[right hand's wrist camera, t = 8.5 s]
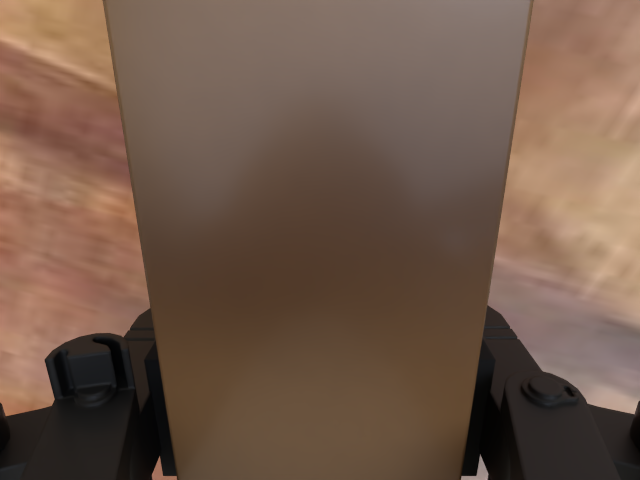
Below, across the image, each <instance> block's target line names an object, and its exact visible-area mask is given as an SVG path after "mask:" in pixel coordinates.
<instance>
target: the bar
mask: <svg viewBox="0 0 640 480" xmlns="http://www.w3.org/2000/svg"><path fill="white" fill-rule="evenodd" d="M533 1H534V0H103V4H104V11H105V17H106V24H107V30H108V37H109V43H110V49H111V56H112V62H113V69H114V75H115V82H116V88H117V94H118V101H119V107H120V114H121V120H122V127H123V133H124V140H125V146H126V152H127V159H128V165H129V172H130V178H131V185H132V191H133V197H134V204H135V210H136V217H137V223H138V230H139V236H140V242H141V249H142V255H143V262H144V268H145V275H146V281H147V288H148V294H149V300H150V307H151V313H152V320H153V326H154V333H155V339H156V345H157V352H158V358H159V365H160V371H161V378H162V384H163V390H164V397H165V403H166V410H167V416H168V423H169V429H170V436H171V442H172V448H173V455H174V461H175V468H176V474H177V480H461V475H462V468H463V462H464V455H465V448H466V442H467V435H468V429H469V422H470V416H471V409H472V402H473V396H474V389H475V383H476V376H477V369H478V363H479V356H480V350H481V343H482V337H483V330H484V323H485V317H486V310H487V304H488V297H489V290H490V284H491V277H492V271H493V264H494V258H495V251H496V244H497V238H498V231H499V225H500V218H501V211H502V205H503V198H504V192H505V185H506V179H507V172H508V165H509V159H510V152H511V146H512V139H513V132H514V126H515V119H516V113H517V106H518V100H519V93H520V86H521V80H522V73H523V67H524V60H525V53H526V47H527V40H528V34H529V27H530V21H531V14H532V7H533Z"/></svg>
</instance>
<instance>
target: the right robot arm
mask: <svg viewBox="0 0 640 480" xmlns="http://www.w3.org/2000/svg"><path fill="white" fill-rule="evenodd" d="M45 363H46V367H47V371H48V375H49V379H50V382H51V386H52V390H53V394H54V398H55V400H54V403H53V405H52V406H50V407H46V408H43V409H38V410H34V411H29V412H24V413H20V414H15V415H10V416H5V413H4V410H3V406H2V404H1V403H0V480H152V473H153V471H154V468H155V466H156V463H157V461H158V458H159V456H160V459H161V465H162V471H163V476H177V474H176V468H175V461H174V455H173V448H172V442H171V436H170V429H169V423H168V416H167V410H166V403H165V397H164V390H163V384H162V378H161V371H160V365H159V358H158V352H157V345H156V339H155V333H154V326H153V320H152V313H151V308H150V309H148V310H147V311H145V312H144V313H142V314H141V315H139V317H138V318H137V319H136V321H135V322H134V323H133V325H132V326H131V328H130V331H128V332H127V333H126V335H125V336H124V337H122V336H120V335H115V334H111V333H95V334H91V335H86V336H81V337H78V338H76V339H73V340H71V341H68V342H65V343H64V344H62V345H61V346H59V347H57V348H56V349H54V350H53V351H52V352H51V353H50V354H49V355H48V356H47V358H46V359H45ZM480 454H481V457H482V459H483V462H484V464H485V466H486V469H487V471H488V474H489V475H488V480H640V401H639V402H638V405H637V408H636V411H635V415H634V414H630V413H625V412H620V411H616V410H611V409H606V408H601V407H597V406H594V405H590V404H587V402H586V400H585V398H584V397H583V395H582V394H581V393H580V391H579V390H578V389H577V388H576V387H574V386H573V385H572V384H570V383H569V382H568V381H566V380H564V379H562V378H560V377H558V376H555V375H553V374H550V373H546V372H542V370H541V369H540V367H539V366H538V365H537V363H536V362H535V360H534V359H533V358H532V356H531V355H530V354H529V352H528V351H527V349H526V348H525V347H524V345H523V344H522V343H521V341H520V340H519V339H517V336H516V334H515V333H514V332H513V330H512V329H510V326H509V325H508V323H507V322H506V321H505V319H504V318H503V316H502V315H501V314H500V313H498V312H497V311H495V310H494V309H492V308H491V307H489V306H488V305H487V310H486V317H485V323H484V330H483V337H482V343H481V350H480V356H479V363H478V369H477V376H476V383H475V389H474V396H473V402H472V409H471V416H470V422H469V429H468V435H467V442H466V448H465V455H464V462H463V468H462V475H461V476H476V475H477V469H478V463H479V457H480Z"/></svg>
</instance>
